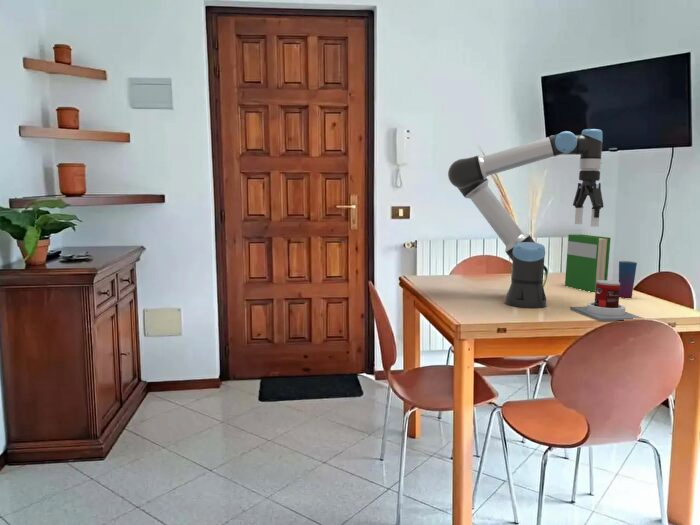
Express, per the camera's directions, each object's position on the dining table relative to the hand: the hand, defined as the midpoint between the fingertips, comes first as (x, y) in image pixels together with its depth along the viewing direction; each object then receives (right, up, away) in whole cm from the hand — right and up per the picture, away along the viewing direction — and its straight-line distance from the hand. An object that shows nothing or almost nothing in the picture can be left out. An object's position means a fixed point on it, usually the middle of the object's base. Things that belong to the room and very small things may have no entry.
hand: (586, 225), depth 235 cm
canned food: (-1, -32, -20) cm, 38 cm away
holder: (-1, -33, -19) cm, 38 cm away
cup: (+23, -29, +17) cm, 41 cm away
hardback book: (+14, -27, +37) cm, 48 cm away
